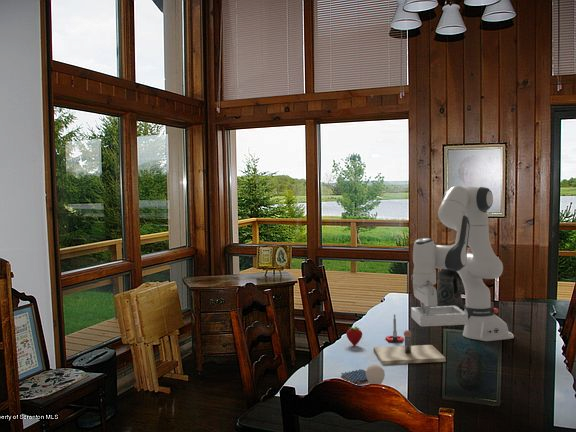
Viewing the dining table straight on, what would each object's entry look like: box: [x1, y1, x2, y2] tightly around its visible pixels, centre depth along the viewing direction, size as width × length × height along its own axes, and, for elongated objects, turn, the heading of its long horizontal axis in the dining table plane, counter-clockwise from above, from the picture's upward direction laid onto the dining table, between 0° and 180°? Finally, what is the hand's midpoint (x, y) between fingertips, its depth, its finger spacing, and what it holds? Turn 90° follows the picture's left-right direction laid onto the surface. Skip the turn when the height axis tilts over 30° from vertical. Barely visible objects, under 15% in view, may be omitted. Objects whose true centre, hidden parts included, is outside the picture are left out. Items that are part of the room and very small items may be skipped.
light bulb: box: [365, 364, 386, 385], centre depth 177 cm, size 7×7×11 cm
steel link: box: [410, 306, 468, 327], centre depth 200 cm, size 18×13×4 cm
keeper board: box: [373, 329, 447, 366], centre depth 218 cm, size 26×18×11 cm
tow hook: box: [385, 314, 405, 343], centre depth 242 cm, size 8×13×9 cm
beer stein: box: [436, 269, 465, 311], centre depth 297 cm, size 16×19×25 cm
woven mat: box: [340, 368, 369, 385], centre depth 194 cm, size 10×11×2 cm
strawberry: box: [345, 326, 363, 346], centre depth 235 cm, size 6×8×10 cm
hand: (425, 313), depth 206 cm, fingers closed on steel link, 2 cm apart
